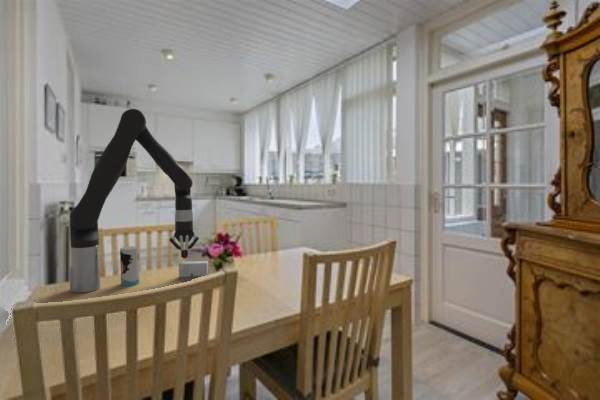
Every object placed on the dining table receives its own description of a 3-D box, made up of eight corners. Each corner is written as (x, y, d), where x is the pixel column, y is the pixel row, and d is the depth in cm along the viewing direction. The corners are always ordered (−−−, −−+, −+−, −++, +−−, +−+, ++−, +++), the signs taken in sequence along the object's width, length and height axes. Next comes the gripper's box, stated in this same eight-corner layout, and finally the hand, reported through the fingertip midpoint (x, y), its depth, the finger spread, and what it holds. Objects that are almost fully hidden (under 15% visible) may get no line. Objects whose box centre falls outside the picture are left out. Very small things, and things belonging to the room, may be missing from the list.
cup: (134, 280, 142) (134, 245, 141) (142, 283, 138) (141, 247, 137) (118, 283, 137) (117, 248, 136) (125, 287, 132) (124, 250, 132)
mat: (181, 281, 140) (181, 280, 140) (182, 271, 156) (182, 270, 156) (210, 279, 144) (210, 278, 144) (208, 269, 159) (208, 268, 159)
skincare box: (178, 264, 145) (206, 262, 147) (180, 261, 149) (208, 260, 151) (178, 277, 145) (207, 276, 147) (181, 274, 150) (208, 273, 151)
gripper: (167, 221, 141) (168, 261, 143) (199, 220, 146) (200, 259, 147) (168, 219, 149) (169, 257, 150) (199, 218, 153) (199, 255, 154)
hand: (184, 258), depth 148 cm, fingers closed
